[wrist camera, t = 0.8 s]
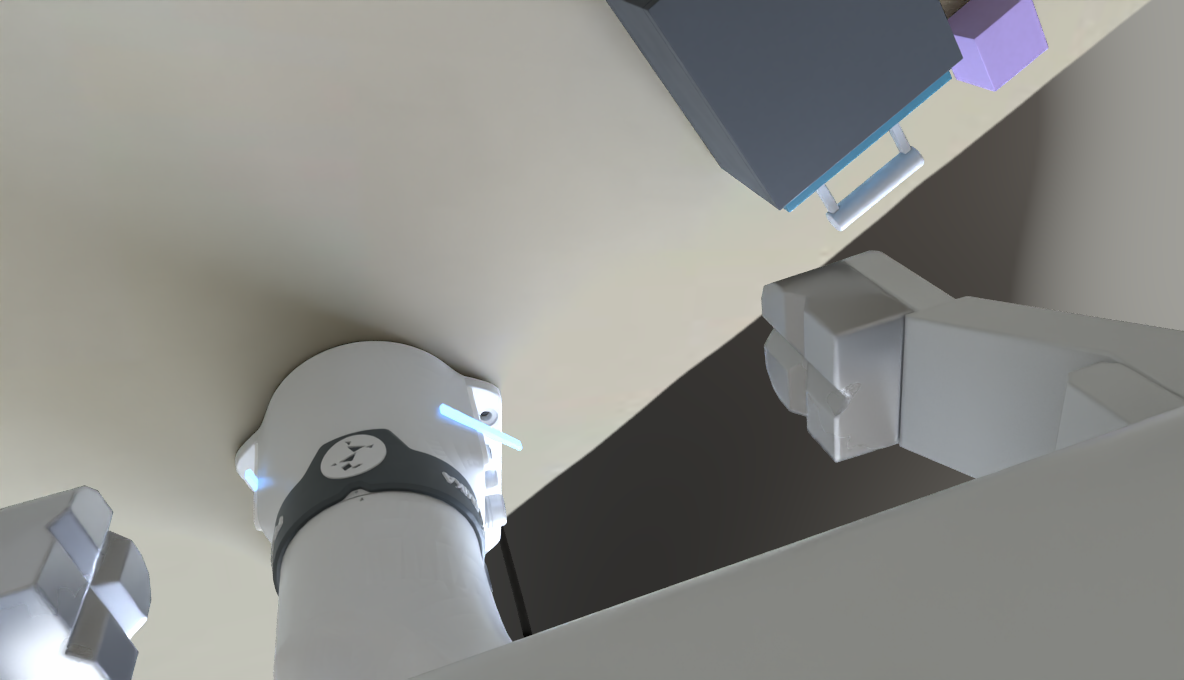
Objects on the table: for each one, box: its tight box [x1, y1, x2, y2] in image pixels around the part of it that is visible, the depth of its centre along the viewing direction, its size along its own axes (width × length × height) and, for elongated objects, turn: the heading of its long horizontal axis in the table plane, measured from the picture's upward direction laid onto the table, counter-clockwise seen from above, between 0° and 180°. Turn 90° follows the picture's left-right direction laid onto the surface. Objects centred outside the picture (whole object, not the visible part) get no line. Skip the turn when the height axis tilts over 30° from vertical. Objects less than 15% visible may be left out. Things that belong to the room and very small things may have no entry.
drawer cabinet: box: [606, 0, 963, 210], centre depth 47 cm, size 15×14×9 cm
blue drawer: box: [784, 71, 952, 231], centre depth 49 cm, size 19×12×7 cm, turn 38°
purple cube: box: [947, 0, 1048, 91], centre depth 54 cm, size 4×4×4 cm
